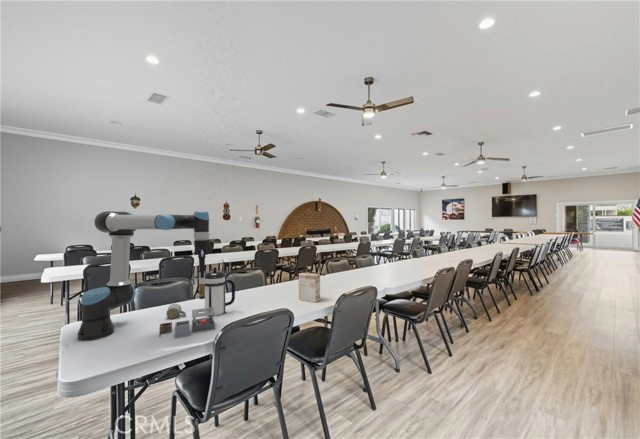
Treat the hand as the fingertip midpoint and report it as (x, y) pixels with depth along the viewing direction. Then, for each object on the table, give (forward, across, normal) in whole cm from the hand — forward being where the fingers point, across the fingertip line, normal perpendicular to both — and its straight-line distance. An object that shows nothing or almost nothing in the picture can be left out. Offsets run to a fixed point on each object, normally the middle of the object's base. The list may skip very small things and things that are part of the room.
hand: (201, 283), depth 155 cm
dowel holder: (+25, +2, +17) cm, 31 cm away
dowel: (+8, 0, 0) cm, 8 cm away
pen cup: (+25, -6, +10) cm, 28 cm away
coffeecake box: (+26, +27, -74) cm, 83 cm away
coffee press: (+26, +23, -10) cm, 36 cm away
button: (+25, 0, 0) cm, 25 cm away
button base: (+25, 0, 0) cm, 25 cm away
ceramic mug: (+26, +30, +13) cm, 42 cm away
